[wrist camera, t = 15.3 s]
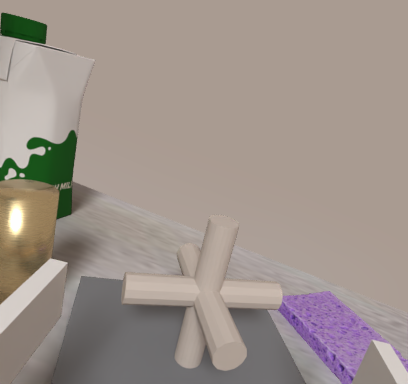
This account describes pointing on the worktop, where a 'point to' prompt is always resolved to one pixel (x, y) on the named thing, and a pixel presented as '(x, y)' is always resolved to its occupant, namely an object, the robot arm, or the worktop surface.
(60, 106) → the milk carton
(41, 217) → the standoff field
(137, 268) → the worktop surface
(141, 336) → the rubber mat
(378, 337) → the sponges
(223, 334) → the pipe connector
